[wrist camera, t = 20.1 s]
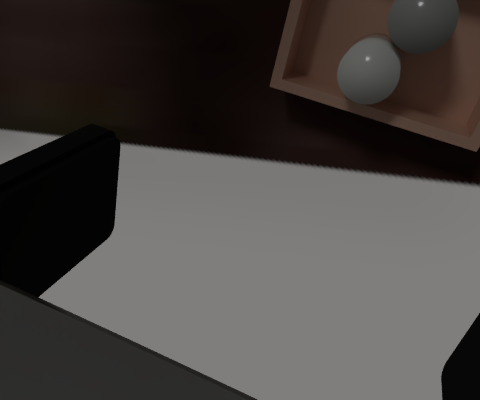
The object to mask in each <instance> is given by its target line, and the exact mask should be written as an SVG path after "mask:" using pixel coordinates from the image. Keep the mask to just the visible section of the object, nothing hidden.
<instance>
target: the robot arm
mask: <svg viewBox="0 0 480 400" xmlns="http://www.w3.org/2000/svg"><path fill="white" fill-rule="evenodd" d="M119 157H120V141H119V140H118V139H117V138H116V135H115V133H114V132H113V131H111V130H108V129H105V128H103V127H100V126H97V125H94V124H90V125H87V126H85V127H83V128H81V129H78V130H76V131H74V132H72V133H70V134H67V135H65V136H63V137H61V138H58V139H56V140H54V141H52V142H50V143H47V144H45V145H43V146H41V147H38V148H36V149H34V150H32V151H30V152H27V153H25V154H23V155H21V156H18V157H16V158H14V159H12V160H10V161H8V162H5V163H3V164H1V165H0V400H257V399H255V398H253V397H251V396H249V395H247V394H244V393H242V392H240V391H238V390H236V389H234V388H231V387H229V386H227V385H225V384H223V383H221V382H219V381H217V380H214V379H212V378H210V377H208V376H206V375H204V374H202V373H200V372H198V371H195V370H193V369H191V368H189V367H187V366H185V365H183V364H181V363H178V362H176V361H174V360H172V359H169V358H168V357H165V356H163V355H161V354H159V353H157V352H155V351H153V350H151V349H148V348H146V347H144V346H142V345H140V344H138V343H136V342H133V341H131V340H129V339H127V338H125V337H122V336H121V335H118V334H116V333H114V332H112V331H110V330H107V329H105V328H103V327H101V326H99V325H97V324H94V323H92V322H90V321H88V320H86V319H84V318H82V317H79V316H77V315H75V314H73V313H71V312H69V311H66V310H64V309H62V308H60V307H57V306H56V305H53V304H51V303H49V302H47V301H45V300H43V299H40V298H38V297H39V296H40V295H41V294H43V293H44V292H45V291H46V290H47V289H48V288H49V287H51V286H52V285H53V284H54V283H56V282H57V281H58V280H59V279H60V278H61V277H63V276H64V275H65V274H66V273H67V272H68V271H70V270H71V269H72V268H73V267H74V266H76V265H77V264H78V263H79V262H80V261H82V260H83V259H84V258H85V257H86V256H88V255H89V254H90V253H91V252H92V251H93V250H95V249H96V248H97V247H98V246H99V245H101V244H102V243H103V242H104V241H105V240H107V239H108V237H109V236H110V235H111V233H112V231H113V228H114V221H115V210H116V196H117V183H118V182H117V181H118V170H119ZM441 382H442V398H443V400H480V313H479V315H478V316H477V318H476V319H475V321H474V322H473V324H472V325H471V327H470V328H469V330H468V331H467V332H466V334H465V335H464V337H463V338H462V340H461V341H460V343H459V344H458V346H457V347H456V349H455V350H454V352H453V353H452V355H451V356H450V357H449V359H448V360H447V362H446V364H445V366H444V368H443V371H442V376H441Z"/></svg>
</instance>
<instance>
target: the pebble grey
mask: <svg viewBox="0 0 480 400" xmlns="http://www.w3.org/2000/svg"><path fill="white" fill-rule="evenodd" d="M401 61H402V55H401V50H400V48H399V47H397V46H396V45H395V43H394V42H393V41H392V39H391V37H389V36H387V35H385V34H381V33H373V34H368V35H366V36H363V37H362V38H360V39H359V40H358V41H356V42H355V44H354V45H353V46H352V47H351V48H350V49H349V50H348V52H347V53H346V54H345V55H344V56H343V58H342V60H341V61H340V64H339V66H338V71H337V80H338V84H339V87H340V89H341V91H342V92H343V94H344V95H345V96H346V97H347V98H349V99H350V100H352V101H353V102H356V103H359V104H374V103H378V102H380V101H382V100H384V99H385V98H387V97H388V96H389V95H390V94H391V93H392V92H393V91H394V89H395V88H396V86H397V84H398V81H399V77H400V70H401Z"/></svg>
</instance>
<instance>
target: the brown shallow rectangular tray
mask: <svg viewBox="0 0 480 400" xmlns="http://www.w3.org/2000/svg"><path fill="white" fill-rule="evenodd" d="M394 1H395V0H291V2H290V6H289V10H288V14H287V18H286V22H285V26H284V30H283V34H282V38H281V42H280V46H279V50H278V54H277V58H276V62H275V66H274V70H273V74H272V78H271V82H270V87H273V88H276V89H279V90H282V91H285V92H288V93H292V94H295V95H298V96H301V97H304V98H307V99H311V100H314V101H317V102H320V103H323V104H326V105H330V106H333V107H336V108H339V109H342V110H345V111H349V112H352V113H355V114H358V115H361V116H364V117H367V118H371V119H374V120H377V121H380V122H383V123H386V124H390V125H393V126H396V127H399V128H402V129H405V130H409V131H412V132H415V133H418V134H421V135H424V136H428V137H431V138H434V139H437V140H440V141H443V142H446V143H450V144H453V145H456V146H459V147H462V148H465V149H469V150H472V151H475V152H477V150H478V148H479V147H480V0H456V1H457V4H458V8H459V18H458V23H457V26H456V28H455V30H454V32H453V34H452V35H451V37H450V38H449V39H448V40H447V41H446V42H445V43H444V44H443V45H442V46H440V47H439V48H437V49H435V50H433V51H431V52H427V53H423V54H413V53H409V52H406V51H404V50H402V49H400V50H401V55H402V61H401V70H400V77H399V81H398V84H397V86H396V88H395V89H394V91H393V92H392V93H391V94H390V95H389V96H388V97H387V98H385V99H384V100H382V101H380V102H378V103H374V104H359V103H356V102H353V101H352V100H350V99H349V98H347V97H346V96H345V95H344V94H343V92H342V91H341V89H340V87H339V84H338V80H337V71H338V66H339V64H340V61H341V60H342V58H343V56H344V55H345V54H346V53H347V52H348V50H349V49H350V48H351V47H352V46H353V45H354V44H355V42H356V41H358V40H359V39H360V38H362V37H363V36H366V35H368V34H373V33H381V34H385V35H387V36H389V37H390V35H389V32H388V26H387V20H388V14H389V11H390V9H391V6H392V5H393V3H394Z"/></svg>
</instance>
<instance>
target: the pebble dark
mask: <svg viewBox="0 0 480 400" xmlns="http://www.w3.org/2000/svg"><path fill="white" fill-rule="evenodd" d="M458 18H459V8H458V4H457V1H456V0H395V1H394V3H393V5H392V6H391V9H390V11H389V14H388V20H387V26H388V32H389V35H390V37H391V39H392V41H393V42H394V43H395V45H396V46H397V47H399V48H400V49H402V50H404V51H406V52H409V53H413V54H423V53H427V52H431V51H433V50H435V49H437V48H439V47H440V46H442V45H443V44H444V43H445V42H446V41H447V40H448V39H449V38H450V37H451V35H452V34H453V32H454V30H455V28H456V26H457V23H458Z"/></svg>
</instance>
